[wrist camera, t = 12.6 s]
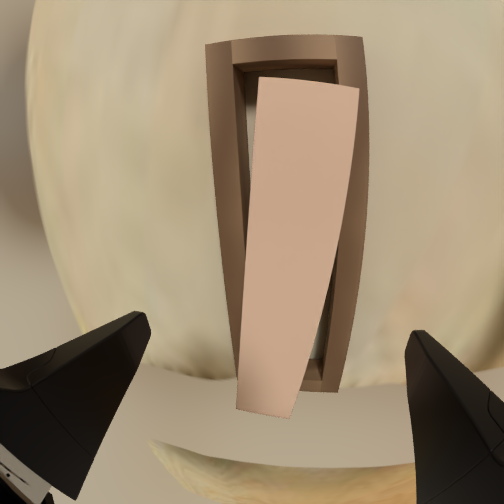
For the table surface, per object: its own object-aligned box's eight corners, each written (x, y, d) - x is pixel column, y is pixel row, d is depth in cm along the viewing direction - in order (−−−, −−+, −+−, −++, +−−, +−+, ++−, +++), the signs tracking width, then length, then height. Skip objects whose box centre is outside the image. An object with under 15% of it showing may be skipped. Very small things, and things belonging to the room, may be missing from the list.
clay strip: (344, 102, 12) (359, 88, 8) (297, 365, 20) (289, 418, 16) (277, 93, 13) (258, 76, 9) (252, 357, 21) (235, 408, 16)
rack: (356, 48, 13) (362, 37, 11) (337, 371, 23) (337, 392, 21) (219, 54, 15) (205, 44, 12) (244, 364, 25) (237, 384, 22)
